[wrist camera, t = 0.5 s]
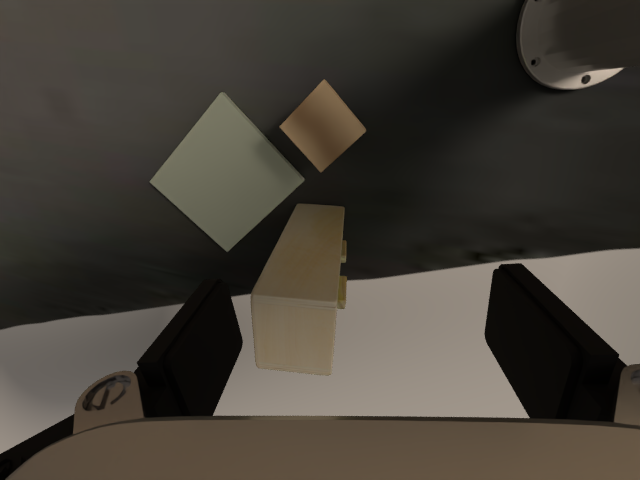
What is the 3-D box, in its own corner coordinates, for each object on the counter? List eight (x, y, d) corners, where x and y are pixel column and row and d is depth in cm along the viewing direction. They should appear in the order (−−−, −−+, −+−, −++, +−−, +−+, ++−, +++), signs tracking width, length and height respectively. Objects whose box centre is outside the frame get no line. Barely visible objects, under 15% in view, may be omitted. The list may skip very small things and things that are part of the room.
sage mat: (224, 92, 36) (220, 92, 35) (305, 179, 40) (303, 181, 39) (153, 180, 42) (149, 181, 41) (229, 249, 46) (227, 252, 45)
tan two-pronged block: (330, 82, 35) (324, 79, 27) (364, 124, 36) (366, 130, 29) (294, 120, 37) (279, 126, 30) (327, 158, 38) (320, 172, 31)
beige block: (346, 258, 44) (339, 379, 25) (296, 254, 45) (253, 369, 26) (351, 206, 41) (346, 301, 22) (297, 202, 41) (247, 291, 22)
